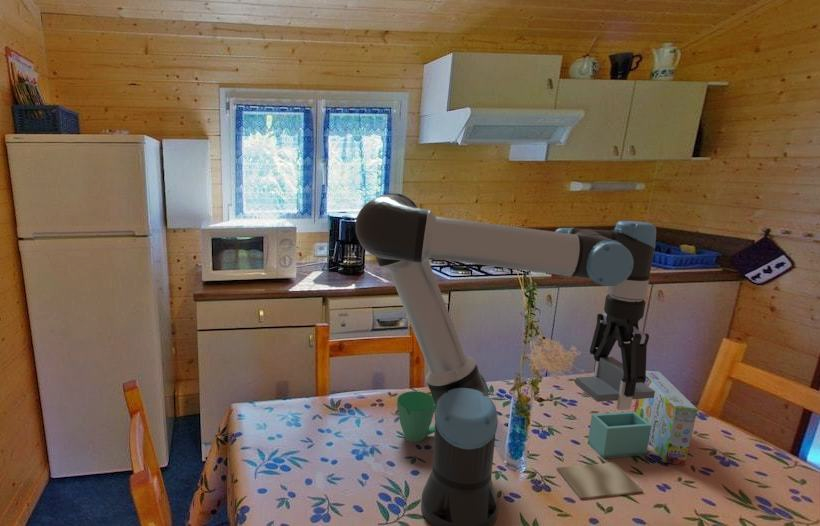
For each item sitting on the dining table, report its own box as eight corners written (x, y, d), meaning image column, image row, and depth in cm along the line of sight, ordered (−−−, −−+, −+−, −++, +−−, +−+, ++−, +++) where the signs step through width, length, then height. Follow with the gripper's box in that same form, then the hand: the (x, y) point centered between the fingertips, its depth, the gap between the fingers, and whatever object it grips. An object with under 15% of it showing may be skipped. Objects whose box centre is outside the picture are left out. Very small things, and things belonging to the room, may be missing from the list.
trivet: (580, 499, 99) (580, 497, 98) (556, 469, 108) (556, 467, 108) (642, 492, 102) (643, 490, 102) (614, 463, 111) (614, 462, 111)
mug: (398, 449, 113) (400, 411, 110) (392, 427, 122) (394, 391, 120) (457, 445, 115) (460, 408, 113) (446, 423, 125) (449, 389, 123)
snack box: (688, 466, 112) (699, 408, 109) (663, 464, 112) (674, 406, 109) (651, 419, 133) (660, 370, 129) (631, 417, 133) (639, 368, 130)
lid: (596, 406, 96) (601, 374, 94) (574, 388, 103) (578, 358, 102) (653, 402, 99) (658, 371, 97) (627, 384, 106) (632, 355, 105)
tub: (602, 458, 113) (607, 428, 111) (587, 443, 119) (591, 414, 118) (646, 454, 116) (651, 425, 114) (629, 439, 122) (633, 411, 120)
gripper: (679, 312, 87) (660, 423, 92) (610, 283, 107) (597, 376, 112) (644, 313, 85) (626, 425, 90) (581, 283, 105) (569, 377, 110)
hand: (610, 398), depth 101 cm, fingers closed on lid, 8 cm apart
